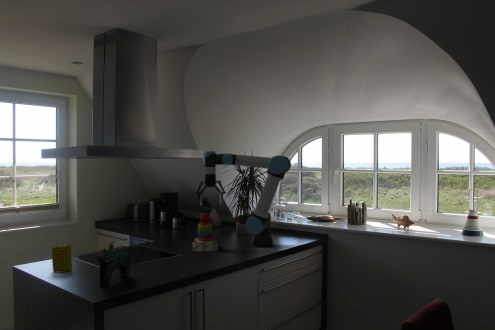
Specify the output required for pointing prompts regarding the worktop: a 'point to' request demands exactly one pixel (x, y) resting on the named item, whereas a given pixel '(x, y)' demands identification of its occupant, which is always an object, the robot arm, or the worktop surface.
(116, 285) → the worktop surface
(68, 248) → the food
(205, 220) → the stacking bear
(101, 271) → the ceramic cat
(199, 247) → the plinth
